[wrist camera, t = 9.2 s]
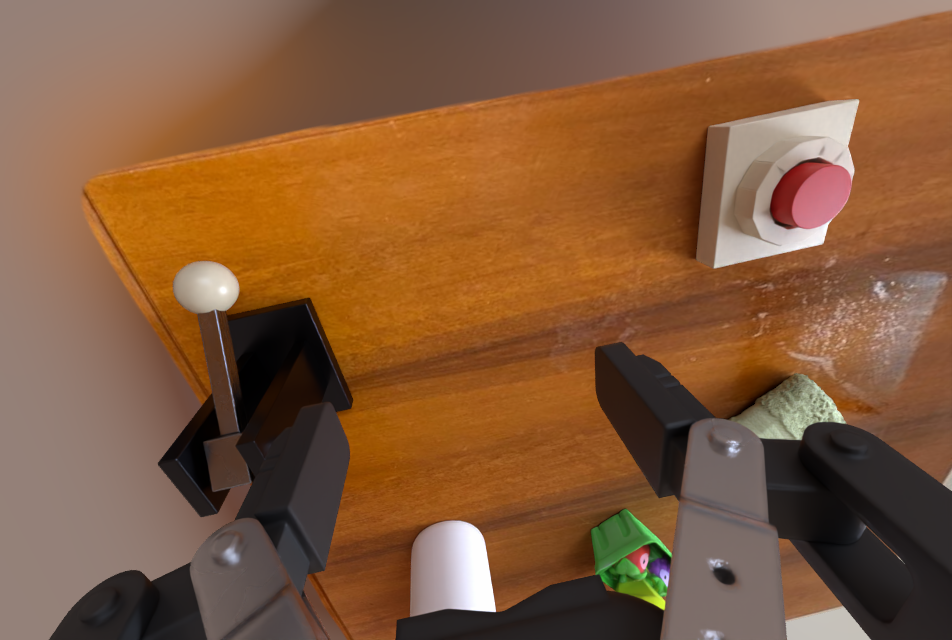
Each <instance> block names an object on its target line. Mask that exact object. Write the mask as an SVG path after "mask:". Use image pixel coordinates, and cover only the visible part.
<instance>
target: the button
mask: <svg viewBox="0 0 952 640" xmlns="http://www.w3.org/2000/svg"><path fill="white" fill-rule="evenodd" d="M851 184H852V183H851V176H850V174H849V172H848V171H847V170H846V169H845V168H844V167H842V166H840V165H833V164H823V163H812V162H809V163H804V164H801V165H798V166H796V167H794V168H793V169H791V170H790V171H789V172H787V173H786V174H785V175H784V176H783V177H782V178H781V180H780V181H779V183H778V184H777V186H776V187H775V189H774V191H773V194H772V198H771V204H770V208H771V212H772V215H773V217H774V218H775V219H776V220H777V221H779V222H781V223H785V224H788V225H792V226H796V227H799V228H803V229H812V228H817V227H820V226H822V225H824V224H826V223H827V222H829V221H830V220H831V219H833V218H834V217H835V216H836V215H837V214H838V213H839V212H840V210H841V209H842V208H843V206H844V205H845V203H846V201H847V199H848V197H849V194H850V191H851Z"/></svg>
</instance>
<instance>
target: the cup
mask: <svg viewBox="0 0 952 640" xmlns="http://www.w3.org/2000/svg"><path fill="white" fill-rule="evenodd" d="M443 609H461V610H475V611H489V612H496V609H495V603H494V596H493V590H492V584H491V577H490V571H489V565H488V558H487V552H486V546H485V541H484V538H483V536H482V534H481V532H480V531H479V530H478V529H477V528H476V527H475V526H473V525H471V524H469V523H467V522H463V521H454V520H452V521H443V522H439V523H436V524H433V525H431V526H429V527H427V528H426V529H424V530H423V531H422V532H421V533H420V534H419V535H418V536H417V538H416V539H415V541H414V543H413V546H412V554H411V595H410V617H412V616H417V615H421V614H425V613H430V612H434V611H439V610H443Z"/></svg>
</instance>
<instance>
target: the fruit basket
mask: <svg viewBox="0 0 952 640" xmlns="http://www.w3.org/2000/svg"><path fill="white" fill-rule="evenodd" d="M591 537H592V544H593V550H594V557H595V574H596V575H597V574H600V576H601V579H602V581H603V582H604V583H605V584H607V585H608V586H610V587H611V588H612V589H613V590H615V591H616V592H620V593H625V594H629V595H632V596H635V597H638V598H641V599H643V600H645V601H648V602H650V603H652V604H654V605H656V606H658V607H659V608H661V609H663V610H664V609H665V601H664V600H663V599H662V598H661V596H662V597H664V596H666V594H667V587H668V580H669V573H670V566H671V558H672V553H671V552H670V551H669V550H668V549H667V548H666V547H665V545H664V544H663V543H662V542H661V541H660V540H659V539H658V538H657V537H656V536H655V535H654V534H652V532H651V531H650V530H649V529H648V528H646V527H645V526H644V525H643V524H642V523H641V522H640V521H639V520H638V519H637V518H635V517H634V516H633V515H632V514H631V513H630V512H629V511H628V510H627V509H624V510H622V511H621V512H620V513H619V514H617V515H614V516H612V517H611V518H609V519H608V520H606V521H604V522H603V523H601V524H600V525H599V527H595V528H593V529H591Z"/></svg>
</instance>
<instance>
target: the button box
mask: <svg viewBox="0 0 952 640" xmlns="http://www.w3.org/2000/svg"><path fill="white" fill-rule="evenodd" d="M858 103H859V100H858V99H853V100H835V101H826V102H821V103H816V104H812V105H807V106H802V107H798V108H793V109H788V110H783V111H779V112H774V113H769V114H765V115H760V116H755V117H750V118H746V119H741V120H736V121H732V122H727V123H722V124H717V125H713V126H709V127H708V134H707V144H706V155H705V166H704V177H703V188H702V199H701V210H700V220H699V231H698V242H697V253H696V260H697V261H699V262H701V263H703V264H705V265H707V266H709V267H711V268H718V267H723V266H727V265H731V264H736V263H740V262H745V261H749V260H754V259H758V258H763V257H767V256H772V255H776V254H781V253H785V252H789V251H794V250H798V249H803V248H807V247H812V246H816V245H821V244H823V242H824V238H825V235H826V231H827V227H828V223H830V221H831V220H832V219H831V220H830V221H829V222H827V223H826V224H824V225H822V226H820V227H817V228H812V229H803V228H799V227H796V226H792V225H788V224H785V223H781V222H779V221H777V220H776V219H775V218H774V217H773V215H772V212H771V208H770V204H771V198H772V194H773V191H774V189H775V187H776V186H777V184H778V183H779V181H780V180H781V178H782V177H783V176H784V175H785V174H786V173H787V172H789V171H790V170H791V169H793V168H794V167H796V166H798V165H801V164H804V163H809V162H812V163H823V164H833V165H840V166H842V167H844V168H845V169H846V170H847V171H848V172H849V174H850V176H851V182H852V178H853V174H854V166H853V162H852V159H851V155H850V152H849V148H848V143H849V139H850V135H851V131H852V127H853V123H854V119H855V115H856V111H857V107H858Z"/></svg>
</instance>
